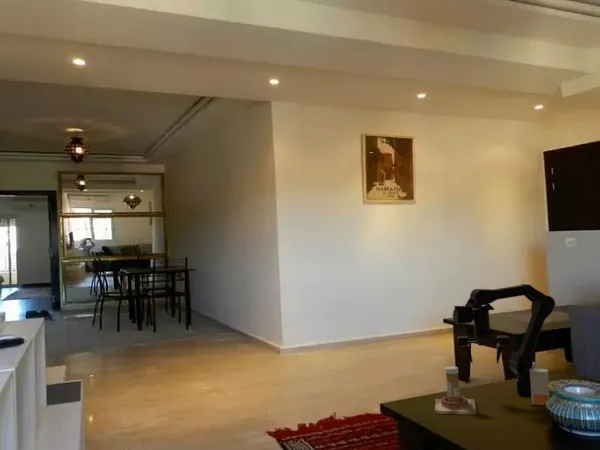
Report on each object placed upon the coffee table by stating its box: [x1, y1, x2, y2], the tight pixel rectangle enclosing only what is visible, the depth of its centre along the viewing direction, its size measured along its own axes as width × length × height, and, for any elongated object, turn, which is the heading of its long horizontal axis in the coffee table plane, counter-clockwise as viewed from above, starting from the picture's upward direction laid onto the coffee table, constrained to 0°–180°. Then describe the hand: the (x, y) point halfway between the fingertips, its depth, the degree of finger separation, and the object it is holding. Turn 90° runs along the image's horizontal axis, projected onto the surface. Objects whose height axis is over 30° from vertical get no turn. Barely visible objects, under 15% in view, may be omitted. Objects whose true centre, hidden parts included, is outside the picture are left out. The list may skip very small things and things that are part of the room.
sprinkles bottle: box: [444, 365, 461, 402], centre depth 191 cm, size 5×5×14 cm
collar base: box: [434, 395, 478, 415], centre depth 191 cm, size 14×14×3 cm
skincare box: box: [530, 368, 551, 406], centre depth 190 cm, size 6×4×12 cm
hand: (484, 363), depth 200 cm, fingers open, 9 cm apart
